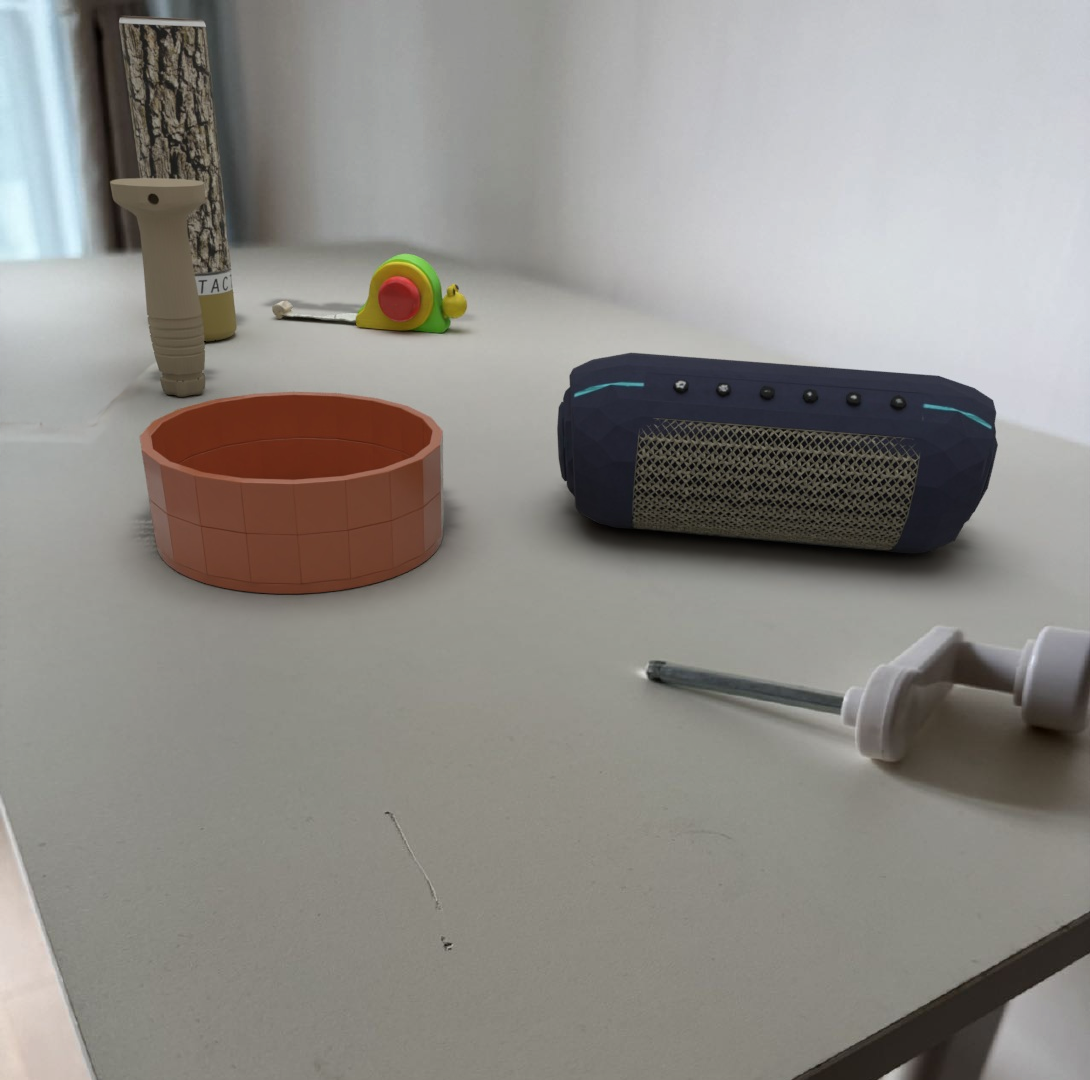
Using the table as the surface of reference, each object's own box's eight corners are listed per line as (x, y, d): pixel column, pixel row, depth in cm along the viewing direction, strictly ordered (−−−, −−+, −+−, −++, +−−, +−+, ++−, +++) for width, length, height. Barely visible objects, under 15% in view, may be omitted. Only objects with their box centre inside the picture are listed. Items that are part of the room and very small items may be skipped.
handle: (222, 401, 87) (198, 187, 79) (136, 400, 86) (103, 184, 78) (230, 384, 91) (207, 179, 83) (148, 383, 90) (117, 177, 82)
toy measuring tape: (458, 339, 107) (458, 265, 104) (264, 323, 110) (258, 251, 106) (474, 325, 112) (474, 254, 109) (288, 310, 115) (283, 240, 111)
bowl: (119, 590, 58) (99, 477, 55) (195, 482, 72) (183, 387, 69) (433, 598, 59) (432, 487, 55) (449, 489, 72) (449, 396, 69)
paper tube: (149, 332, 105) (103, 14, 91) (216, 324, 109) (181, 18, 95) (182, 347, 100) (140, 16, 87) (251, 338, 104) (220, 20, 91)
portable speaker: (541, 547, 65) (548, 371, 60) (562, 488, 73) (569, 330, 68) (987, 587, 63) (1035, 408, 57) (956, 522, 71) (995, 360, 66)
